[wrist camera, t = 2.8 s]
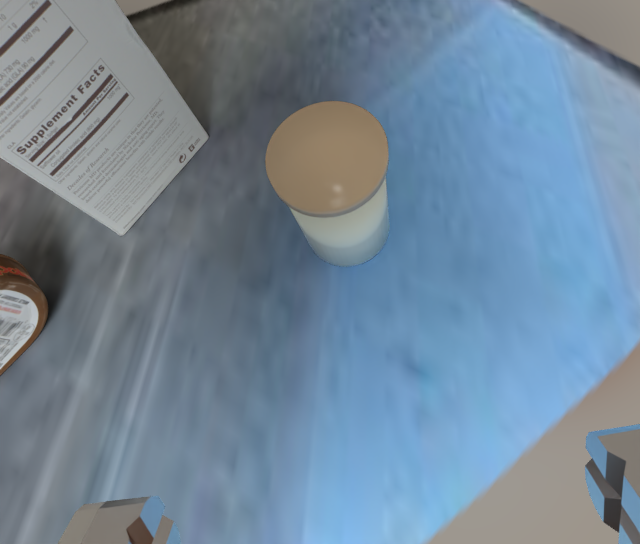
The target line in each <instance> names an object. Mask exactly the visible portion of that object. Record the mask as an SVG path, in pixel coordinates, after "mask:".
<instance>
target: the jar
mask: <svg viewBox="0 0 640 544" xmlns="http://www.w3.org/2000/svg"><path fill="white" fill-rule="evenodd" d="M265 163H266V171H267V175H268V178H269V180H270V182H271V184H272V186H273V188H274V189H275V191H276V193H277V194H278V196H279V197H280V199H281V200H282V201H283V202H284V203H285V204H286V205H287V206H288V207H289V208H290V210H291V211H292V213H293V215H294V217H295V219H296V221H297V222H298V224H299V226H300V228H301V230H302V232H303V233H304V235H305V237H306V239H307V241H308V243H309V245H310V246H311V248H312V250H313V251H314V252H315V254H316V255H317V256H318V257H320V258H321V259H322V260H324V261H325V262H327V263H329V264H332V265H336V266H342V267H349V266H356V265H359V264H362V263H365V262H367V261H369V260H370V259H372V258H373V257H374V256H376V255H377V254H378V253H379V252H380V250H381V249H382V248H383V246H384V245H385V243H386V241H387V238H388V235H389V228H390V225H389V211H388V199H387V186H386V174H387V170H388V164H389V154H388V142H387V137H386V134H385V132H384V129H383V128H382V126H381V124H380V123H379V121H378V120H377V119H376V118H375V117H374V116H373V115H372V114H371V113H369V112H368V111H367V110H365V109H363V108H361V107H359V106H357V105H354V104H351V103H347V102H341V101H326V102H320V103H315V104H312V105H309V106H306V107H304V108H302V109H300V110H298V111H296V112H295V113H293V114H292V115H290V116H289V117H288V118H287V119H286V120H284V121H283V122H282V123H281V124H280V126H279V127H278V128H277V129H276V131H275V132H274V134H273V135H272V137H271V140H270V142H269V144H268V147H267V152H266V160H265Z"/></svg>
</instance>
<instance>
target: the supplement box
mask: <svg viewBox="0 0 640 544" xmlns="http://www.w3.org/2000/svg"><path fill="white" fill-rule="evenodd" d="M208 138H209V136H208V134H207V133H206V131H205V130H204V128H203V127H202V125H201V124H200V123H199V121H198V120H197V118H196V117H195V115H194V114H193V113H192V111H191V110H190V108H189V107H188V105H187V104H186V102H185V101H184V99H183V98H182V96H181V95H180V93H179V92H178V90H177V89H176V88H175V86H174V85H173V83H172V82H171V80H170V79H169V77H168V76H167V74H166V73H165V71H164V70H163V68H162V67H161V65H160V64H159V62H158V61H157V60H156V58H155V57H154V55H153V54H152V52H151V51H150V50H149V48H148V47H147V46H146V44H145V43H144V42H143V41H142V39H141V38H140V37H139V35H138V34H137V32H136V31H135V30H134V28H133V26H132V25H131V23H130V22H129V20H128V18H127V17H126V15H125V14H124V13H123V11H122V9H121V8H120V6H119V5H118V3H117V2H116V0H0V158H2V159H3V160H5V161H6V162H8V163H10V164H11V165H13V166H14V167H16V168H17V169H19V170H20V171H22V172H23V173H25V174H27V175H28V176H30V177H31V178H33V179H34V180H36V181H37V182H39V183H41V184H42V185H44V186H45V187H47V188H48V189H50V190H51V191H53V192H54V193H56V194H58V195H59V196H61V197H62V198H64V199H65V200H67V201H68V202H70V203H71V204H73V205H74V206H76V207H77V208H79V209H80V210H82V211H84V212H85V213H87V214H88V215H90V216H91V217H93V218H94V219H96V220H98V221H99V222H101V223H102V224H104V225H105V226H107V227H108V228H110V229H111V230H113V231H114V232H116V233H117V234H118V235H121V236H122V235H124V234H125V233H126V232H127V231H128V230H129V229H130V228H131V227H132V226H133V224H134V223H135V222H136V221H137V220H138V219H139V217H140V216H141V215H142V214H143V213H144V212H145V211H146V210H147V208H148V207H149V206H150V205H151V204H152V203H153V202H154V200H155V199H156V198H157V197H158V196H159V195H160V194H161V192H162V191H163V190H164V189H165V188H166V187H167V186H168V184H169V183H170V182H171V181H172V180H173V179H174V177H175V176H176V175H177V174H178V173H179V172H180V171H181V170H182V168H183V167H184V166H185V165H186V164H187V163H188V162H189V160H190V159H191V158H192V157H193V156H194V155H195V153H196V152H197V151H198V150H199V149H200V148H201V147H202V145H203V144H204V143H205V142H206V141H207V140H208Z"/></svg>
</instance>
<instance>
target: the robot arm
mask: <svg viewBox="0 0 640 544" xmlns="http://www.w3.org/2000/svg"><path fill="white" fill-rule="evenodd" d="M586 449H587V451H588V452H589V454H590V455H591V457H592V459H591V460H590V461H589V462H588V463H587V464H586V466H585V474H586V483H587V486H588V490H589V494H590V496H591V499H592V501H593V504H594V506H595V508H596V510H597V512H598V514H599V515H600V517H601V519H602V521H603V522H604V523H605V524H607V525H608V526H610V527H611V528H613V529H614V530H615V531H617V532H618V533H619V544H640V424H638V425H632V426H626V427H619V428H613V429H607V430H600V431H594V432H589V433H588V435H587V437H586ZM164 509H165V505H164V504H163V502H162V501H161V499H160V498H159V496H150V497H141V498H132V499H123V500H115V501H107V502H99V503H92V504H84V505H83V506H82V507H81V508H79V509H78V510H77V511H76V512H75V514H74V516H73V517H72V519H71V521H70V523H69V524H68V526H67V528H66V530H65V531H64V533H63V535H62V537H61V539H60V540H59V542H58V544H181V540H180V535H179V531H178V528H177V526H176V525H175V523H174V521H172V520H170V519H169V518H167V517H165V516H163V512H164Z"/></svg>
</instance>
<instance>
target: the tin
mask: <svg viewBox="0 0 640 544" xmlns="http://www.w3.org/2000/svg"><path fill="white" fill-rule="evenodd" d="M47 316H48V303H47V299H46V297H45V295H44V293H43V291H42V290H41V289H40V287H39V286H38V285H37V284H36V283H35V282H34V280H33V279H32V278H31V277H30V275H29V273H28V271H27V270H26V269H25V267H24V266H23V265H22V264H21V263H19V262H18V261H16V260H15V259H13V258H11V257H8V256H6V255H2V254H0V375H1V374H2V373H3V372H4V371H5V370H6V369H7V368H8V367H9V366H10V365H11V364H12V363H13V362H14V361H15V360H16V359H17V358H18V357H19V356H20V355H21V354H22V353H23V352H24V351H25V350H26V349H27V348H28V347H29V346H30V345H31V344H32V343H33V342H34V340H35V339H36V338H37V337H38V335H39V334H40V332H41V331H42V329H43V327H44V325H45V322H46V320H47Z"/></svg>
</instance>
